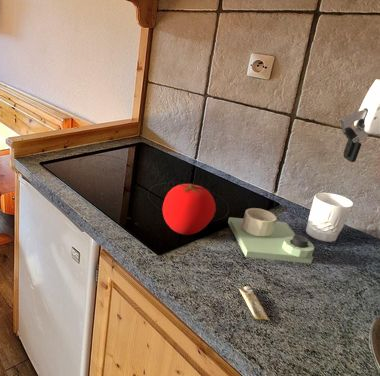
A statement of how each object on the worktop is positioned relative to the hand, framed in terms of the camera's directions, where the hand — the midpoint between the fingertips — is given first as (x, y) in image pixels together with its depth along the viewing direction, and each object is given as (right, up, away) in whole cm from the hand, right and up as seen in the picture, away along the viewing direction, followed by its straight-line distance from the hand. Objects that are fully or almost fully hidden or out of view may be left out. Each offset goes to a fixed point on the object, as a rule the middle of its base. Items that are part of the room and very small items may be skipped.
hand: (374, 161), depth 81 cm
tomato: (-31, -16, +22) cm, 41 cm away
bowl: (-14, -16, +19) cm, 28 cm away
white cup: (+3, -17, +21) cm, 27 cm away
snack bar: (-27, -28, -4) cm, 39 cm away
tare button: (-9, -18, +11) cm, 23 cm away
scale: (-12, -18, +17) cm, 28 cm away
